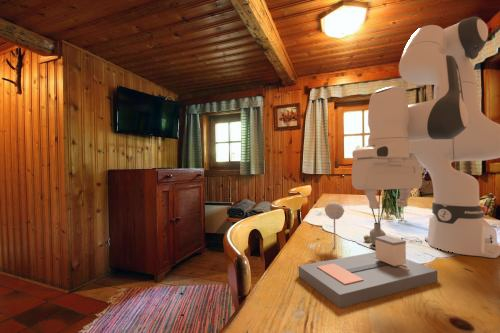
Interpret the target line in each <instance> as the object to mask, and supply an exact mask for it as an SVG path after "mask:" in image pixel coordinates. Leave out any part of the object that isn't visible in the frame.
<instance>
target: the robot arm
mask: <svg viewBox="0 0 500 333" xmlns="http://www.w3.org/2000/svg"><path fill="white" fill-rule="evenodd" d="M485 22H486V21H484V20H483V19H482V18H481V17H478V16H471V17H468V18H464V19H462V20H460V21H459V22H458V23H456V24H453V25H450V26H447V27H446V28H443V27H441V26H440V25H438V24H437V25H435V24H429V25H424V26H422V27H420V28H418V29H417V30H416V31H415V32H414V33H413V34H412V35H411V37H410V39H409V40H408V42H407V43H406V45H405V47H404V50H403V52H402V55H401V57H400V61H399V63H398V74H399V76H400V77H401V78H402V80H404V81H405V82H406V83H408V84H410V85H414V86H428V85H429V86H430V85H431V86H432V85H434V86H433V98H432V99H430V100H426V101H425V100H424V101H422V102H421V101H420V102H417V103H413V104H409V100H408V99H409V98H408V94H407V90H406V87H405V86H402V85H392V86H388V87H384V88H381V89H378V90H376V91H374V92H372V94H371V95H370V98H369V103H368V114H367V126H368V128H369V137H368V140H367V142H368V144H367V145H365V146H363V147H360V148H357V149H355V150H353V151H352V153H351V154H352V158H353V159H354V160H353V162H352V165H351V185H352V187H353V189H355V190H360V191H364V194H365V196H366V198H367V200H368V203H369V204H368V205H369V206H368V207H369V209H371V208H372V209H373V210H379V208H381V201H379V200H377V196H376V195H377V194H378V191H379V190H380V191H381V190H387V189H388V190H398V191H399V192H398V193H400V195H399V198H398V199H396V206H397V207H399V208H404V207H405V208H406V207H408V200H409V198H410V196H411V195H412V194H411V193H412V189H413V190H414V189H420V188H421V187H422V186H423V173H422V167H423V168H424V169H425V170H426V172H428V174H429V176H430V179H431V183H432V190H433V202H432V204H431V205H432V206H431V209H432V210H431V212H432V214H433V215H432V216H431V217H430V218H429V221H428V230H427V231H428V232H427V236H425V237H424V240H426V241H425V242H427V243H428V245H429V246H430V247H432V248H435V249H437V248H438V250H440V249H441V250H440V251H443V252H444V251H445V252H448V251H449V252H448V253H452V252H453V254H457V255H466V256H472V257H473V256H474V257H475V256H476V257H483V258H491V259H496V258H498V257H499V256H500V243H499V242H498V233H497V230H496V228H495V227H493V226H492V225H491V224H490V223H489V222H487V221H486V220H485V219H484V217H485V216H484V213H487V212H488V208H487V206H486V205H481V204H480V183H479V181H478V179H476V178H475V177H474V176H472V175H470V174H468V173H465V172H463V171H461V170H458V169H455V168H454V167H453V166H452V163H454V162H478V161H483V162H484V161H489V160H495V159H500V124H499V123H497V122H495V121H493V120H491V119H490V118H488V117H487V116H486V115H485V114H484V113H483V112H482V110H481V109H480V106H479V99H478V89H477V88H478V85H477V78H476V71H475V69H474V66H473V63H472V62H471V61H470V59H471V60H475V59H477V58H478V56H479V53H480V52H482V50H483V48H484V47H485V45H486V44H487V43H488V39H489V28H488V25H487V24H486V23H485ZM372 209H371V210H372Z"/></svg>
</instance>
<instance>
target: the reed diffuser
mask: <svg viewBox="0 0 500 333" xmlns="http://www.w3.org/2000/svg"><path fill="white" fill-rule="evenodd" d="M388 192H389V189H386V193H385V198H384V201H383V205H382V210H381V212H378V213H377V214H378V215H377V216H378V217H377V218H378V219H377V220H376V215H375V211H374V209H372V208H370V209H371V212H372V216H373V219H374V220H375V222H374V225H373V228H372V229H371V230H370V231H369V235H368V234H366V235H364V236H363V240H364V241H365V242H367V243H370V244H371V245H374V246H375V237H380V236H386V232H385V231H384V230H382V227H381V226H382V224H381V220H382V217H383V211H384V209H385V204H386V200H387V198H388ZM380 200H381V190H378V201H380ZM380 202H381V201H380ZM380 208H381V207H380ZM380 208H379V209H378V211H380Z"/></svg>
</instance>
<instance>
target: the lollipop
mask: <svg viewBox="0 0 500 333" xmlns="http://www.w3.org/2000/svg"><path fill="white" fill-rule="evenodd" d="M324 212H325V215H326V216H327V217H328V218H329V219H331V220H333V246H334V248H336V220H339V219H341V218H342V217H343V215H344V213H345V209H344V206H343V205H342V204H341V203H340V202H338V201H329V202H328V203H327V204H326V206H325V207H324Z"/></svg>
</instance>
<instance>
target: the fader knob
mask: <svg viewBox="0 0 500 333" xmlns="http://www.w3.org/2000/svg"><path fill="white" fill-rule="evenodd" d="M374 246H375V252H376V259H378V260H381V261H383V262H385V263H388V264H390V265H393V266H397V265H401V264H406V259H407V256H406V255H407V254H406V253H407V252H406V249H407V248H406V246H407V241H406V240H403V239H400V238H396V237H393V236H390V235H386V236H380V237H375V245H374Z"/></svg>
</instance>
